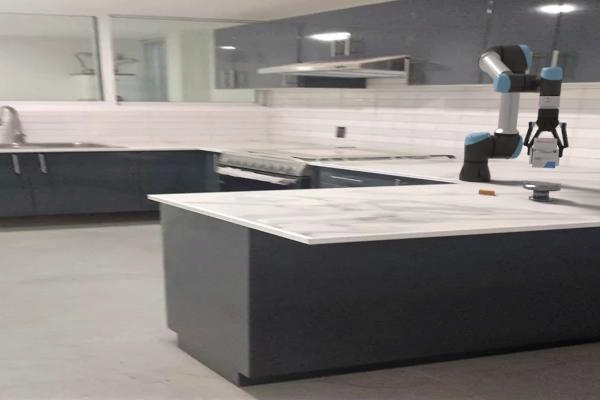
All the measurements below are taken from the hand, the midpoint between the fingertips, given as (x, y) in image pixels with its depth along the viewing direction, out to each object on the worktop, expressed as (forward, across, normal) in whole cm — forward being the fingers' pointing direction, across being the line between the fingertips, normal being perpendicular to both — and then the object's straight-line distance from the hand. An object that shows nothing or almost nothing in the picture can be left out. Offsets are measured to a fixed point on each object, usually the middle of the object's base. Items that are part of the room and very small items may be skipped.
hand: (543, 164), depth 214 cm
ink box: (+1, 0, 0) cm, 1 cm away
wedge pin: (+14, -21, -3) cm, 26 cm away
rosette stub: (+14, 0, 0) cm, 14 cm away
